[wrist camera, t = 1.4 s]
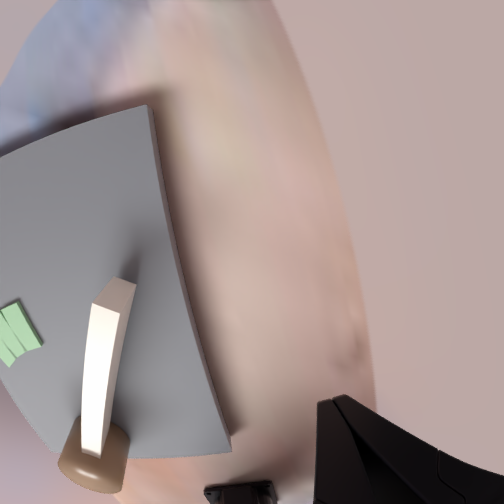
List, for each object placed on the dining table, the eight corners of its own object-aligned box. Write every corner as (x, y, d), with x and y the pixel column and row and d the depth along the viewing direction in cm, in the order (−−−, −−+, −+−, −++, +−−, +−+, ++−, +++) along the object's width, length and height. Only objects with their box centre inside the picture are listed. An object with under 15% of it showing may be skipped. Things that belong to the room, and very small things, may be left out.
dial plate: (230, 437, 20) (232, 455, 18) (56, 440, 18) (50, 454, 17) (152, 110, 13) (145, 103, 11) (-50, 191, 12) (-66, 195, 10)
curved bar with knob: (127, 459, 17) (120, 499, 14) (73, 440, 16) (60, 478, 13) (169, 292, 14) (156, 335, 10) (87, 262, 13) (51, 294, 9)
